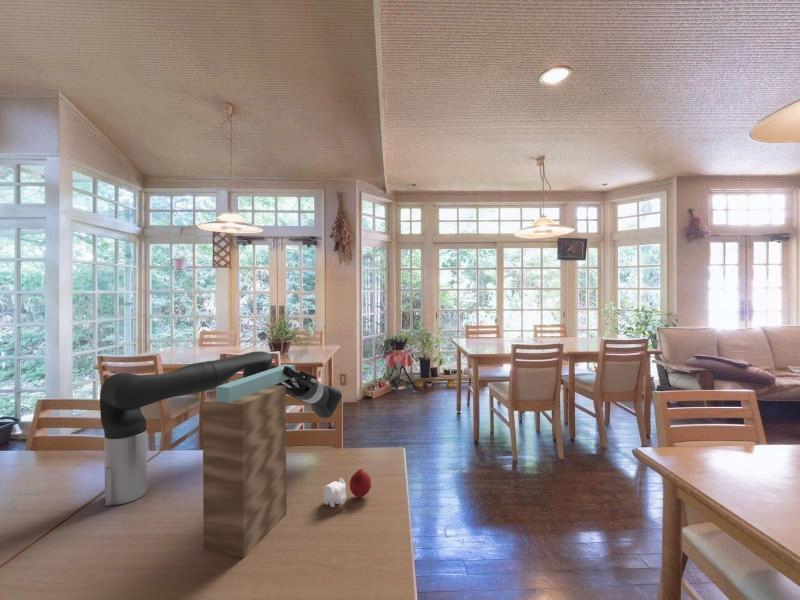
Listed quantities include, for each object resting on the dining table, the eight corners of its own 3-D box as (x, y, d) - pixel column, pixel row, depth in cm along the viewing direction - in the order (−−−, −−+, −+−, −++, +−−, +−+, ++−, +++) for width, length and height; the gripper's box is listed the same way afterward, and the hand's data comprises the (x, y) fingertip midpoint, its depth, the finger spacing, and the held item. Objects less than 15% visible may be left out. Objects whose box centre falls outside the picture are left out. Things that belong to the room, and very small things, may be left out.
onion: (367, 504, 95) (367, 474, 95) (346, 502, 96) (346, 472, 96) (373, 493, 101) (373, 464, 101) (353, 490, 102) (353, 462, 102)
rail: (229, 402, 76) (229, 387, 76) (216, 401, 77) (216, 386, 77) (295, 376, 102) (295, 365, 102) (285, 375, 102) (284, 364, 102)
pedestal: (243, 558, 76) (242, 404, 75) (203, 549, 78) (202, 400, 78) (286, 513, 91) (285, 386, 91) (251, 507, 94) (251, 383, 93)
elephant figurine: (336, 515, 91) (336, 491, 90) (313, 505, 95) (313, 482, 95) (353, 502, 96) (353, 480, 96) (331, 493, 101) (331, 472, 100)
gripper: (289, 374, 115) (259, 354, 100) (330, 377, 111) (305, 356, 96) (282, 398, 111) (250, 381, 96) (325, 402, 107) (298, 384, 93)
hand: (278, 369), depth 97 cm, fingers closed on rail, 3 cm apart
